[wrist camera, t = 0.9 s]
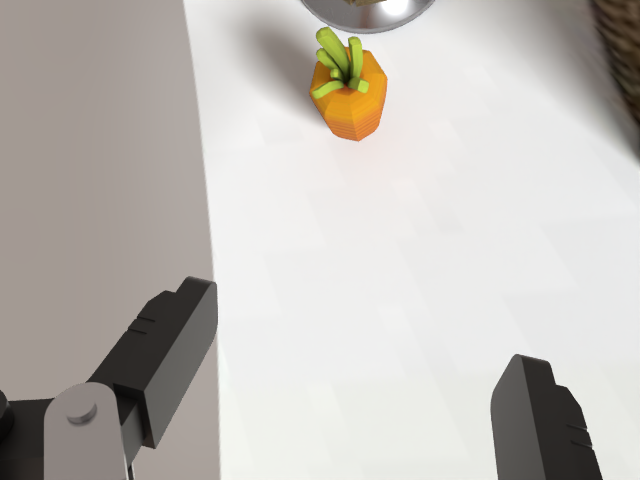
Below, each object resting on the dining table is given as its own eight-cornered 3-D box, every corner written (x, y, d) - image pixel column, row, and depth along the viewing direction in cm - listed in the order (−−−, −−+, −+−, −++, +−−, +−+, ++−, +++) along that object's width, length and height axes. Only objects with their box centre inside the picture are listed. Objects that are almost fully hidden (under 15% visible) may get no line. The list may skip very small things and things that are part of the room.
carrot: (391, 153, 38) (395, 87, 23) (333, 164, 38) (300, 106, 24) (382, 96, 38) (380, -7, 23) (324, 107, 39) (286, 15, 24)
